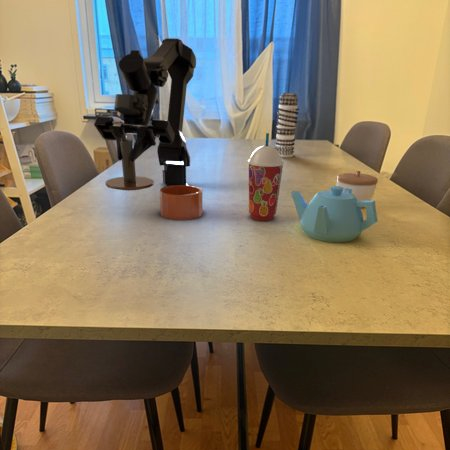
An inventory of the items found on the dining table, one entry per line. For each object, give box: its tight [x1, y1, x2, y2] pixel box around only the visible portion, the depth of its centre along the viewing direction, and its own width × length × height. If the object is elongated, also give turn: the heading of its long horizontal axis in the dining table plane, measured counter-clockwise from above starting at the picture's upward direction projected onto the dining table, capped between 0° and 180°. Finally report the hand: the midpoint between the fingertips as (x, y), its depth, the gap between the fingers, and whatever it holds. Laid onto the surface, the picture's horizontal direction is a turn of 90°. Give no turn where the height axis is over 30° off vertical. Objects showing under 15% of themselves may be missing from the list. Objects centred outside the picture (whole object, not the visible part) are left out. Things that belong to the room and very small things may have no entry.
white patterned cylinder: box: [274, 92, 300, 158], centre depth 186 cm, size 9×9×25 cm
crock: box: [158, 184, 203, 221], centre depth 109 cm, size 11×11×6 cm
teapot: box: [290, 185, 379, 243], centre depth 96 cm, size 15×15×11 cm
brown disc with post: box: [105, 139, 155, 192], centre depth 103 cm, size 12×12×11 cm
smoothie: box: [247, 132, 284, 222], centre depth 104 cm, size 8×8×20 cm
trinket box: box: [336, 170, 379, 209], centre depth 119 cm, size 11×11×9 cm
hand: (125, 159), depth 102 cm, fingers closed on brown disc with post, 3 cm apart
